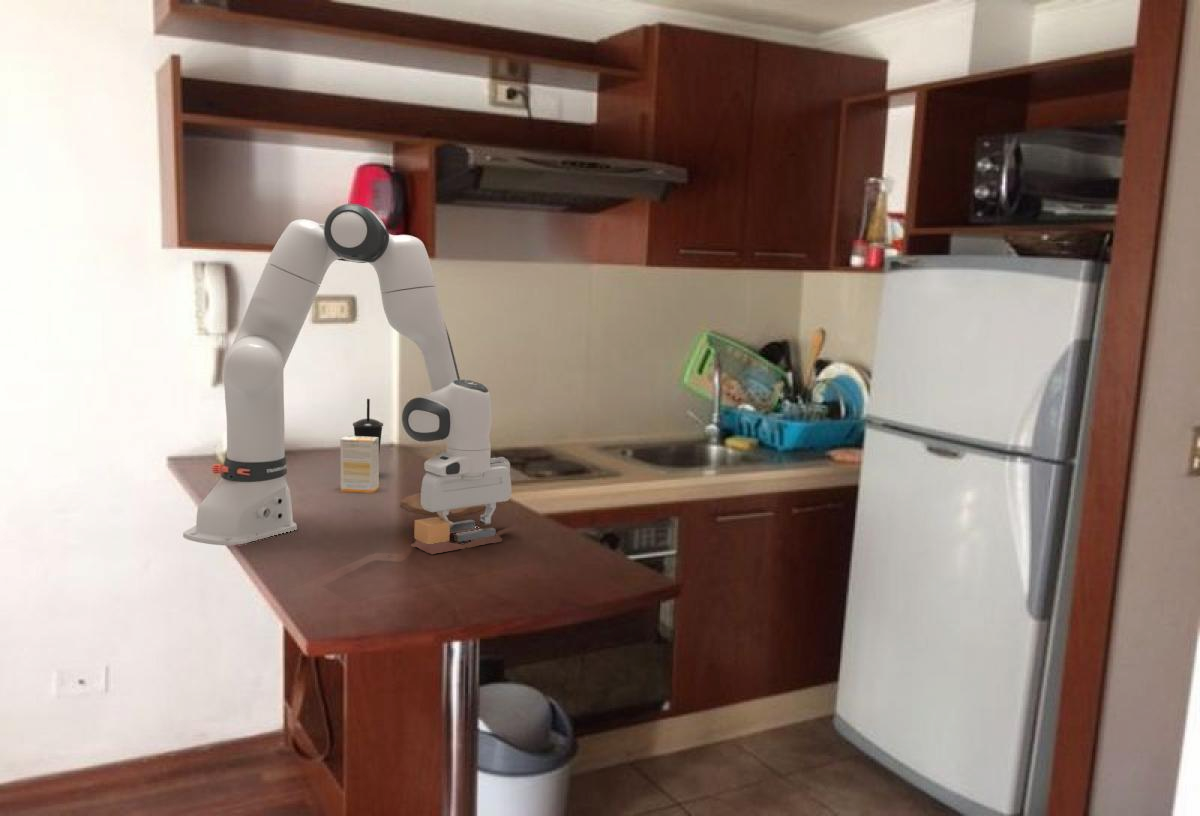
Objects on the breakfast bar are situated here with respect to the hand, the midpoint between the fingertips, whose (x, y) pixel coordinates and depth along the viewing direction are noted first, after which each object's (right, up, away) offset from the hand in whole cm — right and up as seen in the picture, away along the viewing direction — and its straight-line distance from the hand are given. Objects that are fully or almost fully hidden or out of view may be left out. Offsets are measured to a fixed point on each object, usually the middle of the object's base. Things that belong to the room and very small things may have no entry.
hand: (466, 527), depth 205 cm
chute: (-3, -3, -2) cm, 4 cm away
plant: (-8, +1, +24) cm, 25 cm away
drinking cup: (-33, +7, +53) cm, 63 cm away
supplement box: (-31, +4, +37) cm, 49 cm away
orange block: (-6, -2, -5) cm, 9 cm away
